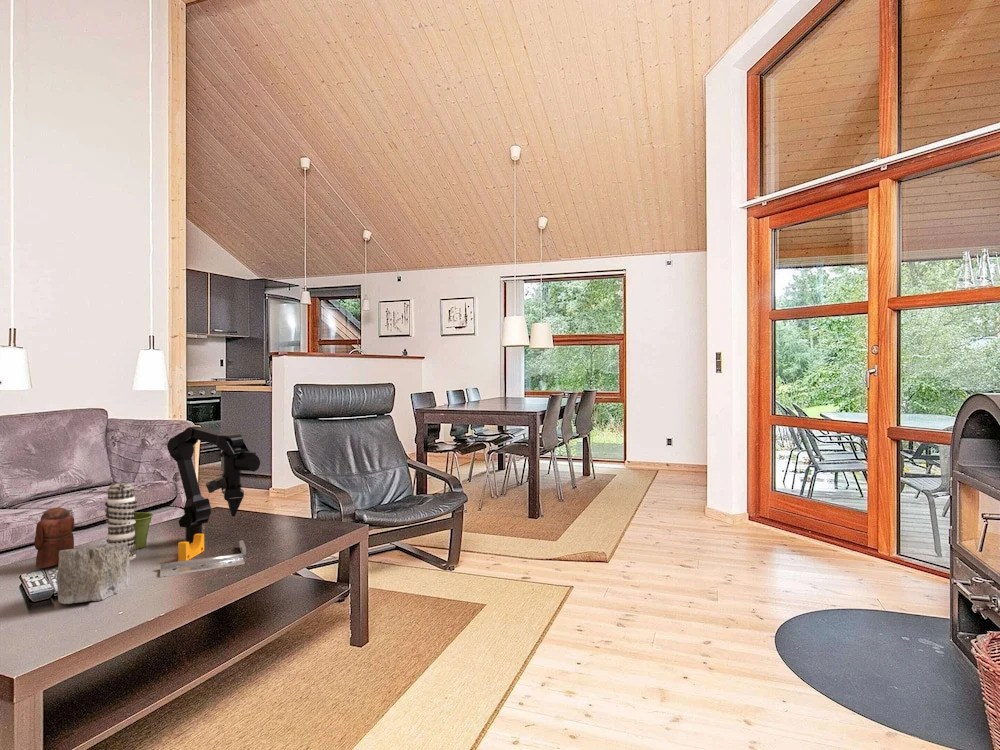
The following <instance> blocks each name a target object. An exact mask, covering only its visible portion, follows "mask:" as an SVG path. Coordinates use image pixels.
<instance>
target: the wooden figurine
mask: <svg viewBox="0 0 1000 750" xmlns="http://www.w3.org/2000/svg"><path fill="white" fill-rule="evenodd" d="M35 527H36V528H35V537H34V548H35V549H36V550H37V552H36V558H35V568H41V569H42V568H43V569H44V568H45V569H46V568H50V567H54V566H58V565H59V556H58V555H59V551H61V550H68V549H75V537H74V533H73V532H74V530H75V529H76V528H75V527H76V526H75V518H74V516H73V515H71V514H70V512H69V511H68V510H67V509H66V508H63V507H52V508H49V509H47V510H46V511H44V512H43V514H42V515H41V517H40V520H39V521H38V522H37V524H36V525H35Z"/></svg>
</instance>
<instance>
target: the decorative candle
mask: <svg viewBox="0 0 1000 750" xmlns="http://www.w3.org/2000/svg"><path fill="white" fill-rule="evenodd" d="M135 488H136V487H135V486H133V485H132V484H131V483H130V482H119V483H113V484H111V485H110V486H109V488H107V489H106V491H107V499H106V502H104V506H105V507H106V508H105V517H106V519H105V523H106V527H107V532H108V533H107V538H106V540H105V541H106V543H107V544H110V545H118V544H127V545H128V549H129V561H131V560H134V559H135V558H136V557H137V555H136V554H137V549H136V546H135V545H134V544H135V543H136V541H135V540H134V539H135V538H136V536H135V530H134V523H136V521H135V520H134V519H135V518H136V516H134V515H135V514H136V513H137V511H136V510H135V509H136V508H138V505H136V504H137V503H138V502H137V500H136V496H135ZM135 549H136V550H135Z"/></svg>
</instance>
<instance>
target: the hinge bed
mask: <svg viewBox="0 0 1000 750" xmlns="http://www.w3.org/2000/svg"><path fill="white" fill-rule="evenodd" d="M238 547H239V551H240V553H235V554H225V555H218V556H212V557H211V556H210V557H202V558H201V557H200V558H193V559H190V560H185V561H178V560H177V561H171V562H164V563H163V562H162V563H160V569H159V570H160V571H159V572H160V573H159V577H160V578H163V577H164V576H165V577H171V576H172V577H173V576H178V574H179V575H185V574H191V573H196V572H197V571H198V572H203V571H208V570H217V569H221V568H228V567H236V566H240V565H246V564H245V563H246V562H245V560H244V556H247V547H246V544H245V542H244V540H243V539H242V540H239V545H238Z"/></svg>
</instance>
